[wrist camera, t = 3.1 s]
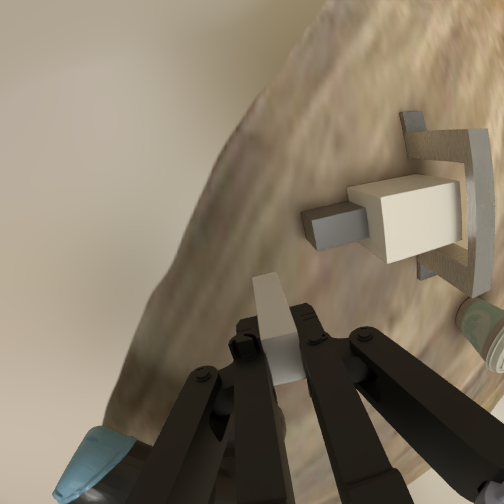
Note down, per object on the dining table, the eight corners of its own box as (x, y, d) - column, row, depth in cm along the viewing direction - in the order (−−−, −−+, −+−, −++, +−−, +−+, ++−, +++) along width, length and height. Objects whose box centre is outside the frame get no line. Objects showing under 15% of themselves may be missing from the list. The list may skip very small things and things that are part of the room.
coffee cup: (464, 283, 35) (516, 320, 24) (491, 292, 36) (537, 325, 25) (441, 333, 37) (484, 378, 26) (469, 337, 38) (509, 375, 27)
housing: (417, 278, 34) (469, 318, 23) (399, 113, 28) (462, 101, 17) (434, 272, 34) (487, 309, 23) (418, 111, 28) (482, 102, 17)
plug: (308, 251, 32) (330, 280, 24) (298, 198, 30) (319, 211, 23) (424, 221, 32) (465, 238, 24) (419, 173, 30) (463, 180, 22)
